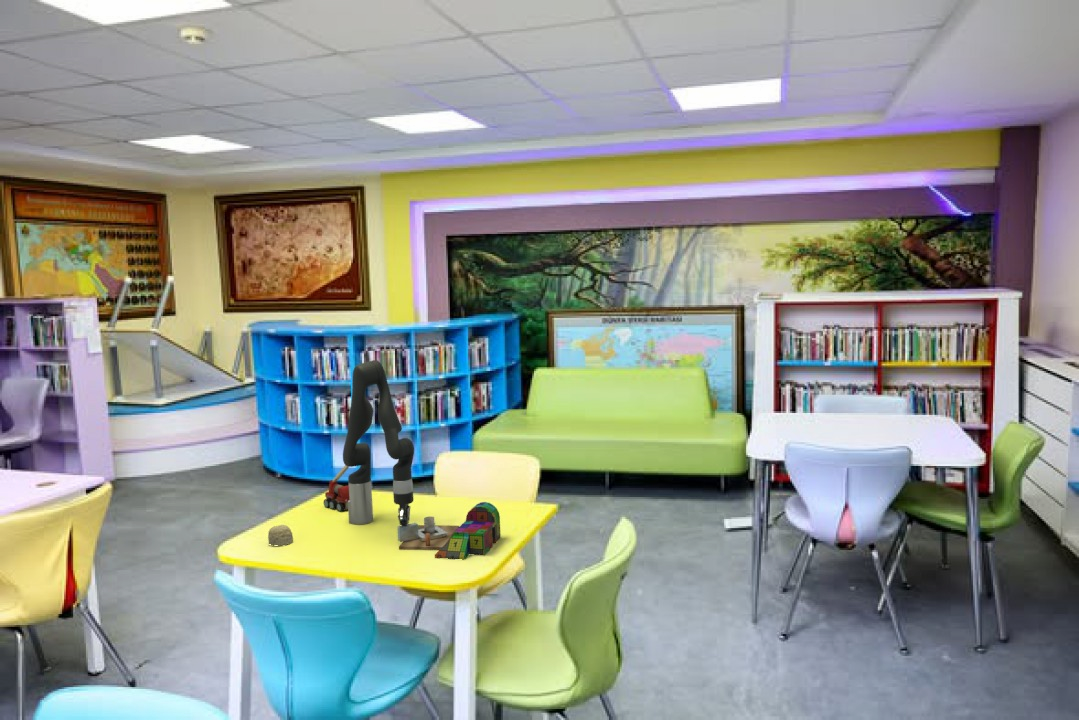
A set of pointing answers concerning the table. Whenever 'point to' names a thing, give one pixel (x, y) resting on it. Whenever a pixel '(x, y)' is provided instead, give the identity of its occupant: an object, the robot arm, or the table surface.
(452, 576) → the table surface
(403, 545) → the flange base
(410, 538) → the flange plate
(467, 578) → the table surface
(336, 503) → the toy fire truck
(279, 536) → the brown rock
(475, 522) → the toy block train
